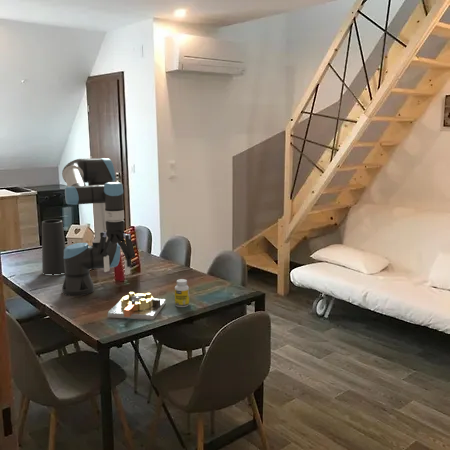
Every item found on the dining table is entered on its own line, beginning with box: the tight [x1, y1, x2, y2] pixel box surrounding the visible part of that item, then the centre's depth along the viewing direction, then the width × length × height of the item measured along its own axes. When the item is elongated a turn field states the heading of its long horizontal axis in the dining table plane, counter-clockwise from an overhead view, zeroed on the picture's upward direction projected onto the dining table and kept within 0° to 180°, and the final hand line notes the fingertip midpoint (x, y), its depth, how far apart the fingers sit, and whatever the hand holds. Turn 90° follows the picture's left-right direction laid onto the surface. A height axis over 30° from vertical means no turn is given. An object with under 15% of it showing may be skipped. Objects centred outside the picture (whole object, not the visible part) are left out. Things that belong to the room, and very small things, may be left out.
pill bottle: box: [174, 278, 190, 308], centre depth 232 cm, size 6×6×12 cm
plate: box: [107, 295, 166, 321], centre depth 226 cm, size 21×20×6 cm
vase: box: [41, 219, 67, 275], centre depth 281 cm, size 14×14×29 cm
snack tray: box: [120, 291, 155, 317], centre depth 222 cm, size 21×13×4 cm, turn 172°
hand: (117, 272), depth 215 cm, fingers open, 10 cm apart
